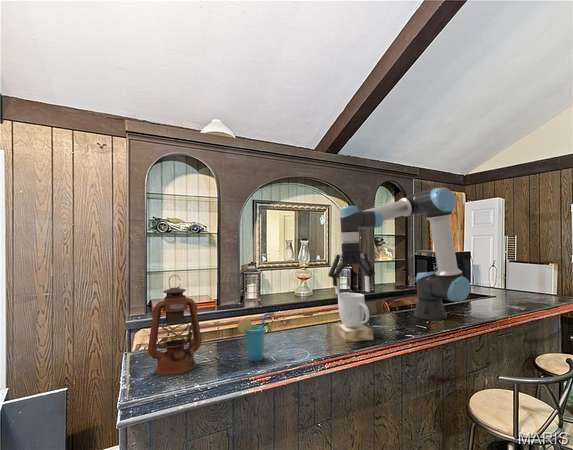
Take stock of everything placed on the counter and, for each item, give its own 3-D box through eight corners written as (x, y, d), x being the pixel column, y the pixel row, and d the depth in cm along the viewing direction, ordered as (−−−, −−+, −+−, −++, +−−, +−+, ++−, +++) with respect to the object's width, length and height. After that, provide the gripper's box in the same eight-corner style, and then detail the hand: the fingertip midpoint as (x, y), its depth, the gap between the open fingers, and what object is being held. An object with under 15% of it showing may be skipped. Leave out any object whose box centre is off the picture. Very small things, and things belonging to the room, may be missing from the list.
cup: (269, 350, 118) (268, 310, 119) (280, 357, 112) (279, 313, 112) (234, 359, 111) (233, 315, 111) (244, 366, 104) (243, 319, 105)
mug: (378, 328, 130) (377, 296, 131) (359, 333, 124) (357, 299, 125) (352, 321, 142) (351, 291, 143) (333, 325, 136) (332, 294, 137)
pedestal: (360, 331, 141) (360, 322, 141) (373, 339, 129) (373, 329, 129) (334, 333, 138) (334, 324, 138) (345, 342, 126) (345, 331, 127)
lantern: (150, 380, 95) (150, 278, 96) (145, 366, 106) (145, 275, 108) (206, 368, 103) (206, 274, 105) (197, 356, 114) (196, 272, 116)
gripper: (373, 241, 142) (375, 289, 141) (319, 243, 137) (321, 293, 136) (381, 241, 135) (384, 291, 134) (325, 243, 129) (327, 296, 128)
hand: (352, 292), depth 135 cm, fingers open, 13 cm apart
